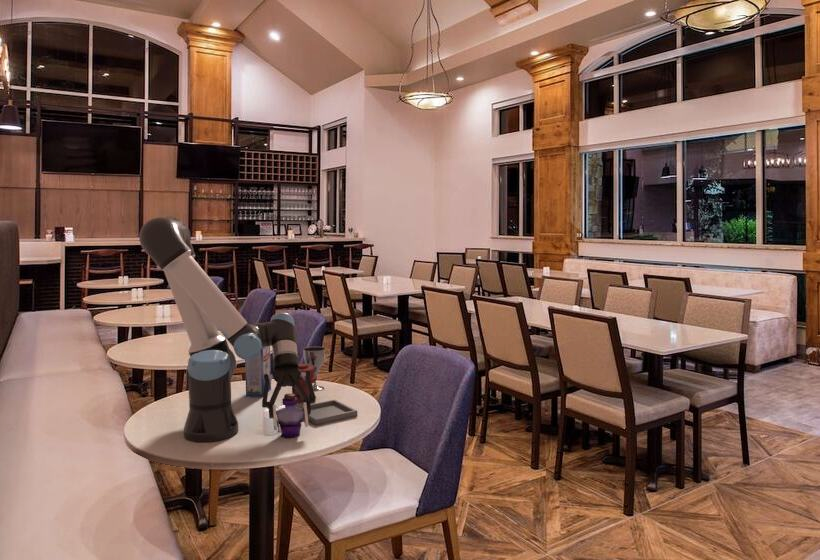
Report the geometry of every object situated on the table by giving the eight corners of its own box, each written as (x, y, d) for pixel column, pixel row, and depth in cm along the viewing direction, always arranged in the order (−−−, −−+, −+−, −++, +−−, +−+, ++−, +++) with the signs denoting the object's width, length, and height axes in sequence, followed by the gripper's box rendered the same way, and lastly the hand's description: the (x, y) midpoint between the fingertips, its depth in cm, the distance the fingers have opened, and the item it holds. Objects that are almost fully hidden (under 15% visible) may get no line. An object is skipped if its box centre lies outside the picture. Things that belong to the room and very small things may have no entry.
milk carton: (254, 388, 219) (253, 335, 217) (271, 389, 219) (269, 335, 217) (246, 396, 209) (244, 341, 207) (263, 397, 209) (261, 341, 207)
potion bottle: (270, 433, 172) (269, 393, 171) (296, 427, 178) (295, 388, 177) (283, 442, 166) (283, 400, 164) (311, 435, 171) (310, 395, 170)
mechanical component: (319, 395, 210) (314, 404, 200) (291, 395, 211) (284, 404, 201) (318, 361, 209) (313, 368, 199) (290, 361, 209) (284, 368, 199)
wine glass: (311, 384, 225) (310, 345, 223) (329, 386, 222) (329, 347, 220) (300, 390, 217) (299, 350, 216) (319, 392, 214) (318, 351, 213)
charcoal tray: (316, 425, 180) (316, 419, 179) (295, 412, 191) (295, 407, 191) (357, 416, 188) (357, 410, 188) (334, 404, 200) (334, 399, 200)
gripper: (318, 362, 188) (326, 428, 174) (250, 367, 182) (253, 435, 168) (320, 349, 182) (329, 416, 168) (250, 353, 176) (253, 423, 162)
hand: (291, 426), depth 168 cm, fingers closed on potion bottle, 8 cm apart
